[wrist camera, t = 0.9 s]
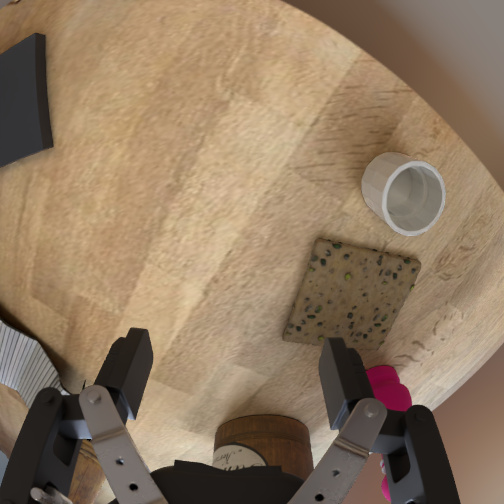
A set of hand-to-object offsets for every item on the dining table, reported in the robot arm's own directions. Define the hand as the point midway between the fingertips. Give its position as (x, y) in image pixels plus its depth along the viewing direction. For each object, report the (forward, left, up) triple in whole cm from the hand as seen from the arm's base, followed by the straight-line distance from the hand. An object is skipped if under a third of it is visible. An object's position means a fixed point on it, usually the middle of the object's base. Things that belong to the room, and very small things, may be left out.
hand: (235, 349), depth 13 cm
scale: (-16, -24, -14) cm, 32 cm away
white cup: (-3, +13, -14) cm, 20 cm away
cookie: (+9, +10, -14) cm, 20 cm away
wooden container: (+35, -1, -15) cm, 38 cm away
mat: (+19, -40, -15) cm, 46 cm away
